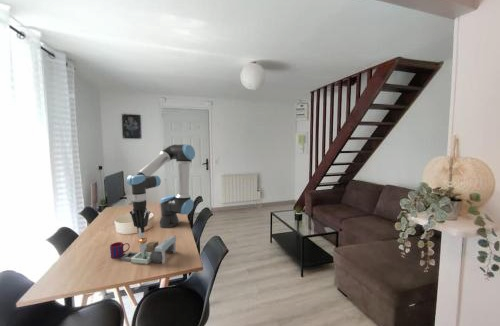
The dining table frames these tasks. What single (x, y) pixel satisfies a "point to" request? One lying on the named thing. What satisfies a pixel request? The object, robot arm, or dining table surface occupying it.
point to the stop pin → (143, 248)
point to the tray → (141, 261)
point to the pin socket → (126, 257)
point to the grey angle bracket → (163, 250)
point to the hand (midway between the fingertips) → (141, 237)
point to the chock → (152, 246)
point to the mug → (117, 249)
